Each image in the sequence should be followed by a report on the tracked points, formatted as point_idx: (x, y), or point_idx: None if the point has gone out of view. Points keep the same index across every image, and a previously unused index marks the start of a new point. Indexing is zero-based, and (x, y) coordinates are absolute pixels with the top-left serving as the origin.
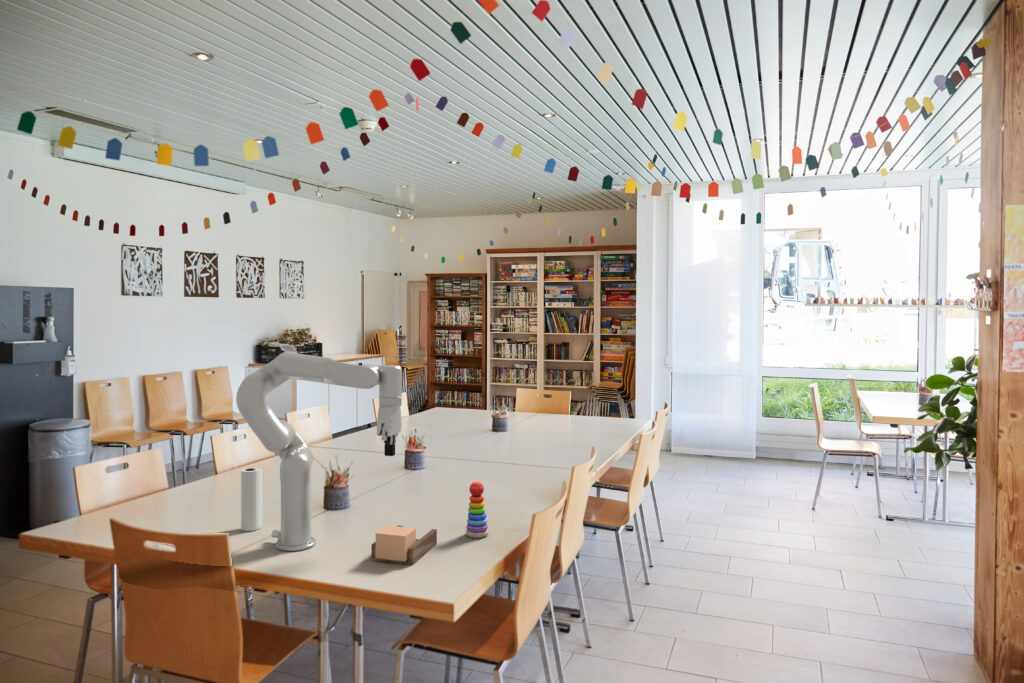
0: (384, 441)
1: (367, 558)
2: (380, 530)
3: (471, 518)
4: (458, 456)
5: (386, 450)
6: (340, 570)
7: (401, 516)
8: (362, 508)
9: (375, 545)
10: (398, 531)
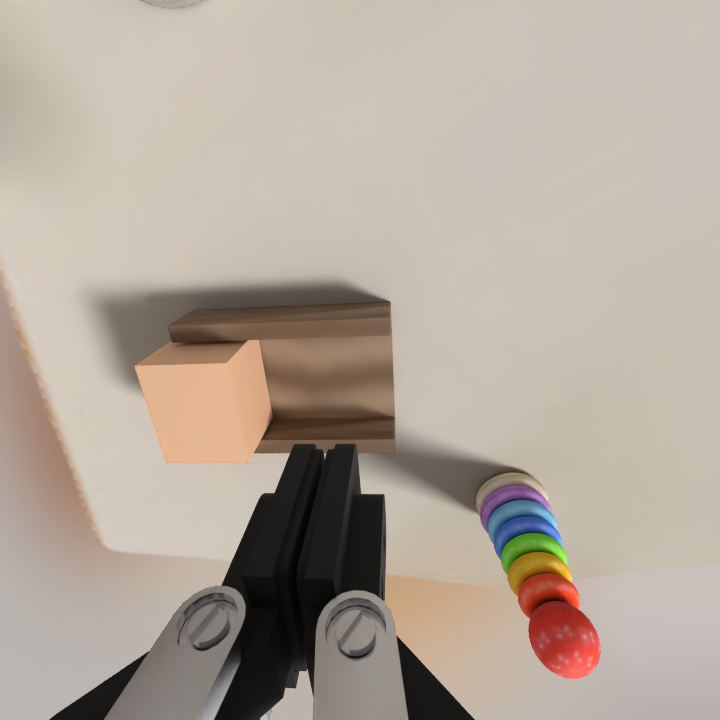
0: (104, 684)
1: (198, 291)
2: (166, 367)
3: (496, 533)
4: None
5: (254, 526)
6: (82, 267)
7: (700, 163)
8: None
9: (173, 339)
10: (192, 426)
